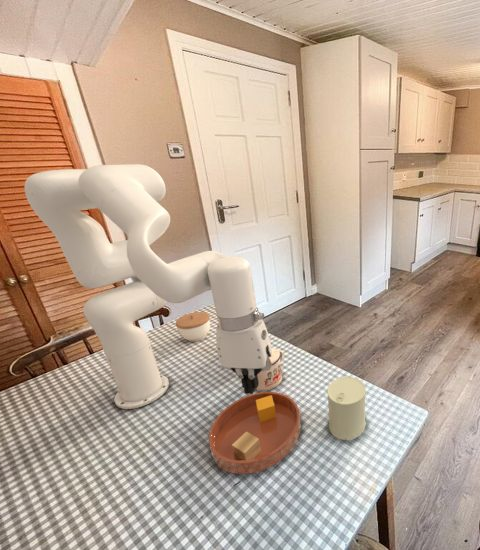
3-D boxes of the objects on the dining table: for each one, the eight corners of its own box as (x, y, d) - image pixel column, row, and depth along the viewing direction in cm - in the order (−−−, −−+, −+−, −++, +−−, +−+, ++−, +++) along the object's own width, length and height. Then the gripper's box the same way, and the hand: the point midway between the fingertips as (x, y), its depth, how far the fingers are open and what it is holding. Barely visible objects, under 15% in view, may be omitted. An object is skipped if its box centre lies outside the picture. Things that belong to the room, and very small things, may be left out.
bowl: (201, 431, 74) (198, 419, 73) (278, 392, 86) (276, 381, 85) (229, 496, 60) (226, 483, 59) (316, 438, 72) (315, 426, 71)
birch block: (234, 457, 67) (231, 444, 66) (248, 443, 70) (246, 431, 69) (246, 466, 65) (244, 453, 64) (261, 451, 69) (258, 438, 67)
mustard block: (257, 411, 79) (255, 399, 78) (273, 406, 81) (271, 394, 79) (259, 423, 76) (257, 410, 74) (276, 417, 77) (274, 405, 76)
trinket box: (192, 328, 118) (187, 307, 114) (218, 330, 117) (214, 308, 113) (173, 344, 108) (167, 321, 104) (201, 346, 107) (196, 323, 103)
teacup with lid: (268, 396, 85) (264, 362, 81) (244, 386, 89) (238, 353, 84) (295, 370, 95) (292, 339, 91) (272, 362, 99) (268, 332, 94)
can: (322, 434, 73) (319, 396, 69) (339, 407, 81) (337, 371, 77) (356, 447, 70) (356, 407, 66) (371, 417, 78) (371, 380, 74)
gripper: (280, 310, 64) (289, 379, 71) (212, 308, 65) (227, 376, 72) (267, 328, 57) (278, 403, 64) (191, 326, 58) (210, 400, 65)
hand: (251, 389), depth 68 cm, fingers closed
